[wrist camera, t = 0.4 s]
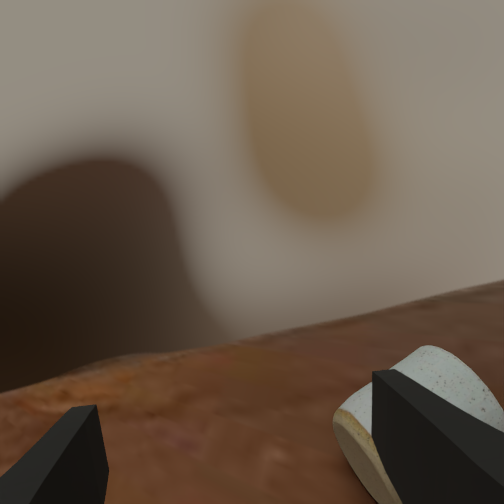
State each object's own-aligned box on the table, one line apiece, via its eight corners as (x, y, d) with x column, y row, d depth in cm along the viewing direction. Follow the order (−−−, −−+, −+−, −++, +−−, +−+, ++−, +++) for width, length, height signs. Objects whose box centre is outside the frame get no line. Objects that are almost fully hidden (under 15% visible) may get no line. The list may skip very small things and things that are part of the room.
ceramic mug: (335, 460, 32) (313, 383, 28) (424, 401, 34) (415, 322, 30) (456, 612, 23) (447, 527, 19) (566, 519, 25) (577, 427, 22)
